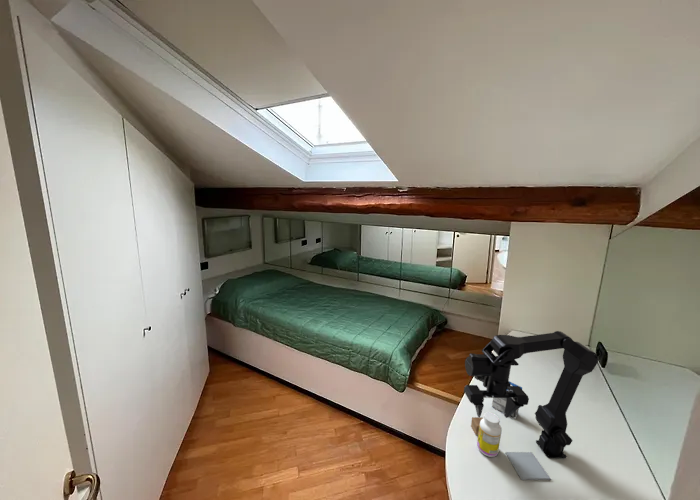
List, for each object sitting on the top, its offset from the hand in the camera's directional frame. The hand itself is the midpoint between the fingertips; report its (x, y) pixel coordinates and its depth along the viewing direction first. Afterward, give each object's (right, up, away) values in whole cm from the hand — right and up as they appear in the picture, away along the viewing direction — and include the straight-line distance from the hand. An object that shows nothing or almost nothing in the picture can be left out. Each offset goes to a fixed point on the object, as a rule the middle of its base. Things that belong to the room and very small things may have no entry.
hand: (492, 416), depth 96 cm
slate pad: (+10, -14, -3) cm, 17 cm away
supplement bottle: (0, -13, +3) cm, 13 cm away
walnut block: (0, -11, +10) cm, 15 cm away
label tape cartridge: (+15, -10, +21) cm, 27 cm away
